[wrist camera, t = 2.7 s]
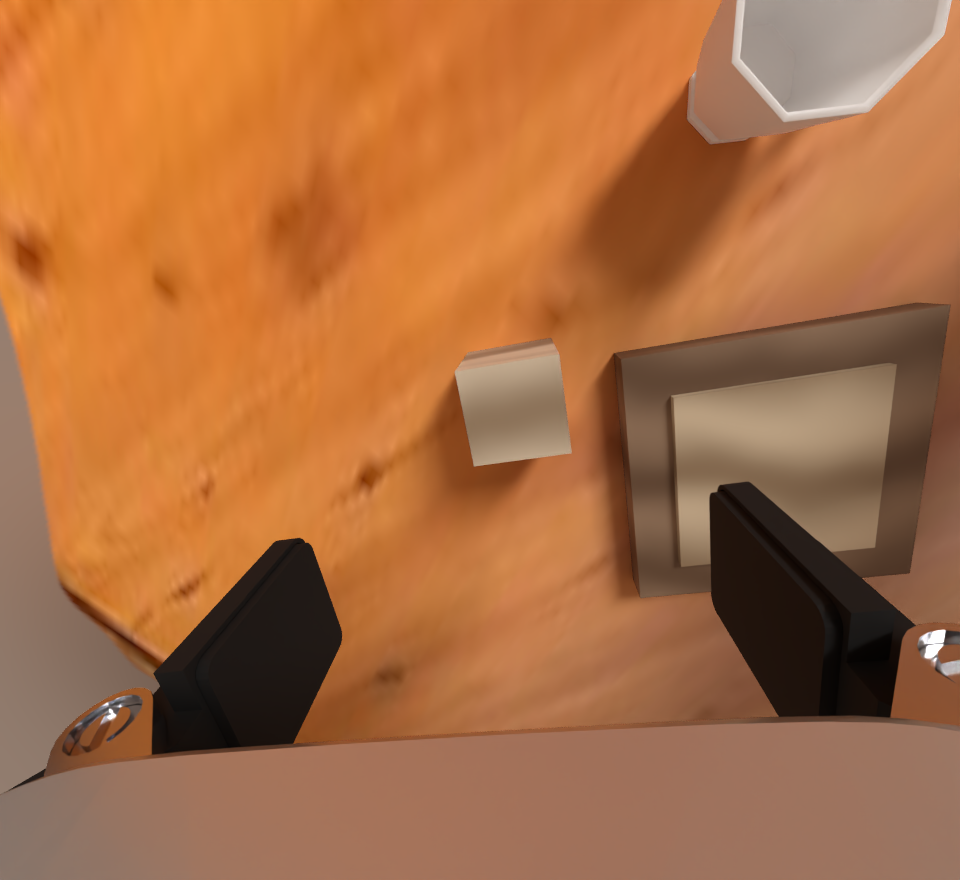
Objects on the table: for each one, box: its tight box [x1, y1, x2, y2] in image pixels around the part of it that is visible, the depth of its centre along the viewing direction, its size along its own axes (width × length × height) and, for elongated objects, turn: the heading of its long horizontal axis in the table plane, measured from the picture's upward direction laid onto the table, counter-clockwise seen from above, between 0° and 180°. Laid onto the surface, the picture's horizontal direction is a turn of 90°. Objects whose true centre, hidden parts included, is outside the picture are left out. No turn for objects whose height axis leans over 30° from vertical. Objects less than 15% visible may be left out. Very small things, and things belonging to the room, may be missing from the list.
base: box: [614, 303, 950, 598], centre depth 27 cm, size 16×16×2 cm
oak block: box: [455, 338, 572, 466], centre depth 25 cm, size 5×5×6 cm
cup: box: [687, 0, 952, 144], centre depth 18 cm, size 7×10×8 cm
